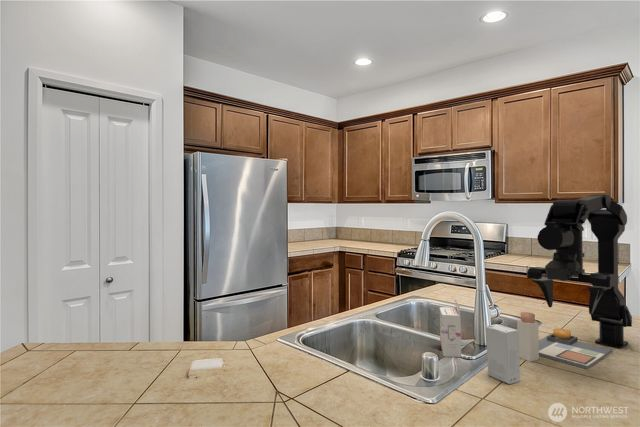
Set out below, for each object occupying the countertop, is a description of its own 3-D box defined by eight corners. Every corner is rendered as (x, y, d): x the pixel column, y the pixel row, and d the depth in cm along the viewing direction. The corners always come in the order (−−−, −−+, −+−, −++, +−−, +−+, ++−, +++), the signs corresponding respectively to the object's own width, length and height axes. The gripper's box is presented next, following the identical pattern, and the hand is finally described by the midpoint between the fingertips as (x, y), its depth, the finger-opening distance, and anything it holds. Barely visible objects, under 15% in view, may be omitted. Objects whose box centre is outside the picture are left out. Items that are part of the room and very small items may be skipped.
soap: (225, 366, 102) (224, 355, 102) (224, 376, 95) (223, 365, 95) (189, 369, 100) (189, 358, 100) (186, 381, 93) (186, 369, 93)
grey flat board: (550, 337, 118) (550, 331, 118) (612, 352, 105) (612, 345, 105) (522, 350, 108) (522, 343, 108) (587, 369, 95) (587, 361, 95)
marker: (526, 354, 105) (526, 311, 105) (538, 359, 102) (538, 314, 101) (517, 357, 103) (517, 313, 103) (529, 361, 100) (529, 316, 100)
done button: (557, 332, 116) (557, 327, 116) (573, 336, 112) (573, 331, 112) (550, 335, 113) (550, 330, 113) (567, 339, 110) (567, 334, 110)
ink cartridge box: (439, 345, 113) (438, 296, 113) (456, 346, 112) (456, 297, 112) (442, 356, 104) (442, 303, 104) (461, 357, 103) (460, 304, 103)
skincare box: (521, 381, 89) (520, 329, 89) (508, 385, 87) (507, 332, 87) (498, 371, 94) (497, 323, 94) (485, 375, 93) (485, 325, 92)
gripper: (516, 247, 99) (516, 307, 99) (600, 252, 84) (601, 323, 84) (536, 246, 106) (537, 302, 105) (618, 250, 91) (619, 316, 90)
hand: (569, 310), depth 96 cm, fingers open, 9 cm apart
